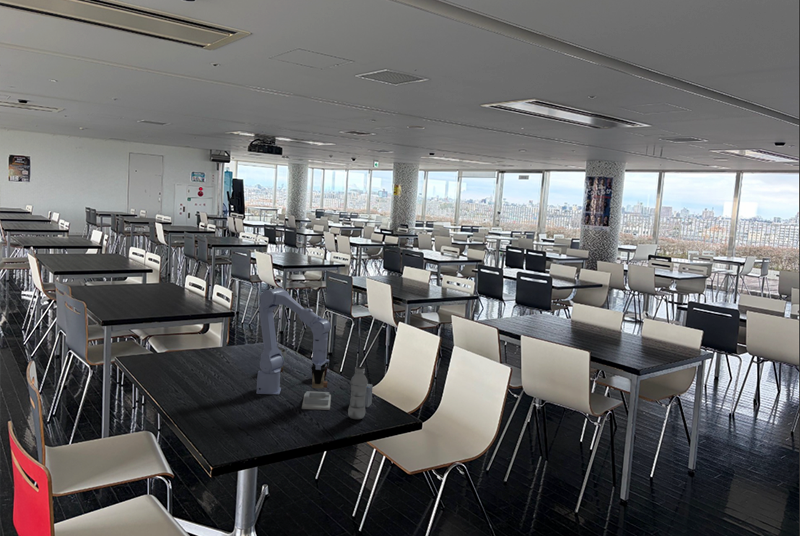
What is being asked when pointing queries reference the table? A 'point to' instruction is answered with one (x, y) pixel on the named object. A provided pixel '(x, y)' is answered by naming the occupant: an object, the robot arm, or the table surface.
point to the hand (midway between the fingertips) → (318, 381)
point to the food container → (283, 357)
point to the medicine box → (368, 395)
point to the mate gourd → (324, 371)
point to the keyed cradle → (316, 400)
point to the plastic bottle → (358, 394)
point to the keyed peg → (322, 384)
